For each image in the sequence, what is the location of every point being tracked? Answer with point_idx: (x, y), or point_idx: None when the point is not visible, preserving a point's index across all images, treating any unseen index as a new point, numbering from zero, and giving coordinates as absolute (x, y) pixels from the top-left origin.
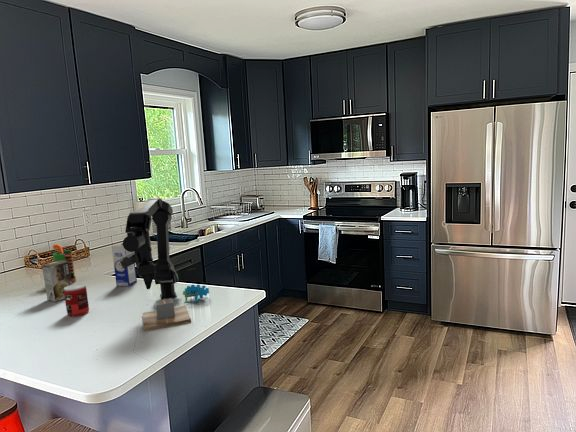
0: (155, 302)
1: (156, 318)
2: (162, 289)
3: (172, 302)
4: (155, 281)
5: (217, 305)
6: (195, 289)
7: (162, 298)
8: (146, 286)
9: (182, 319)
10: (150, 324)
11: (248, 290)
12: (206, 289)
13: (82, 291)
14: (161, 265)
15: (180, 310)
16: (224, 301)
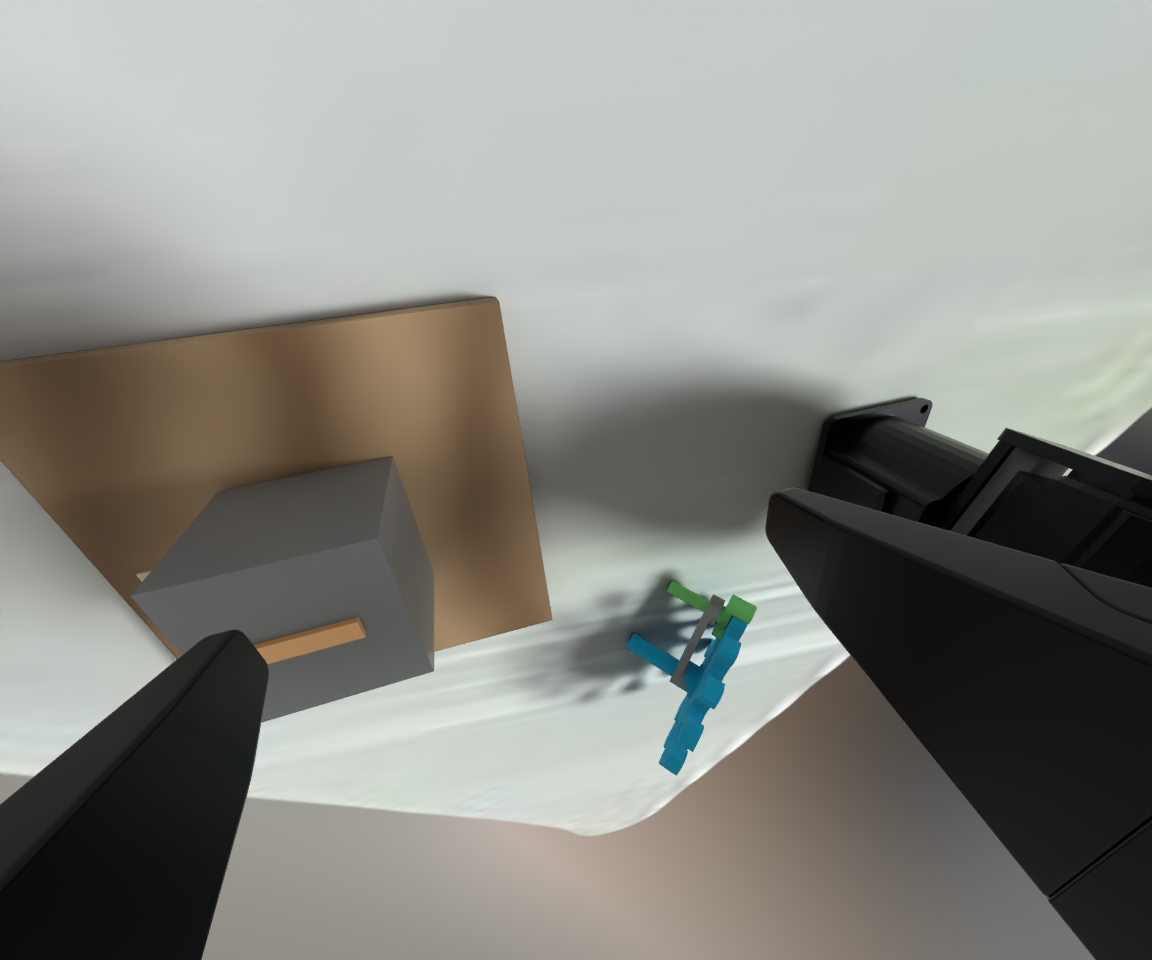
0: (363, 532)
1: (272, 469)
2: (908, 462)
3: None
4: (1035, 447)
5: (520, 737)
6: (688, 705)
7: (827, 430)
8: (118, 720)
9: None
10: (67, 437)
11: (673, 790)
12: (665, 745)
13: None
14: None
15: (445, 612)
16: (570, 749)
